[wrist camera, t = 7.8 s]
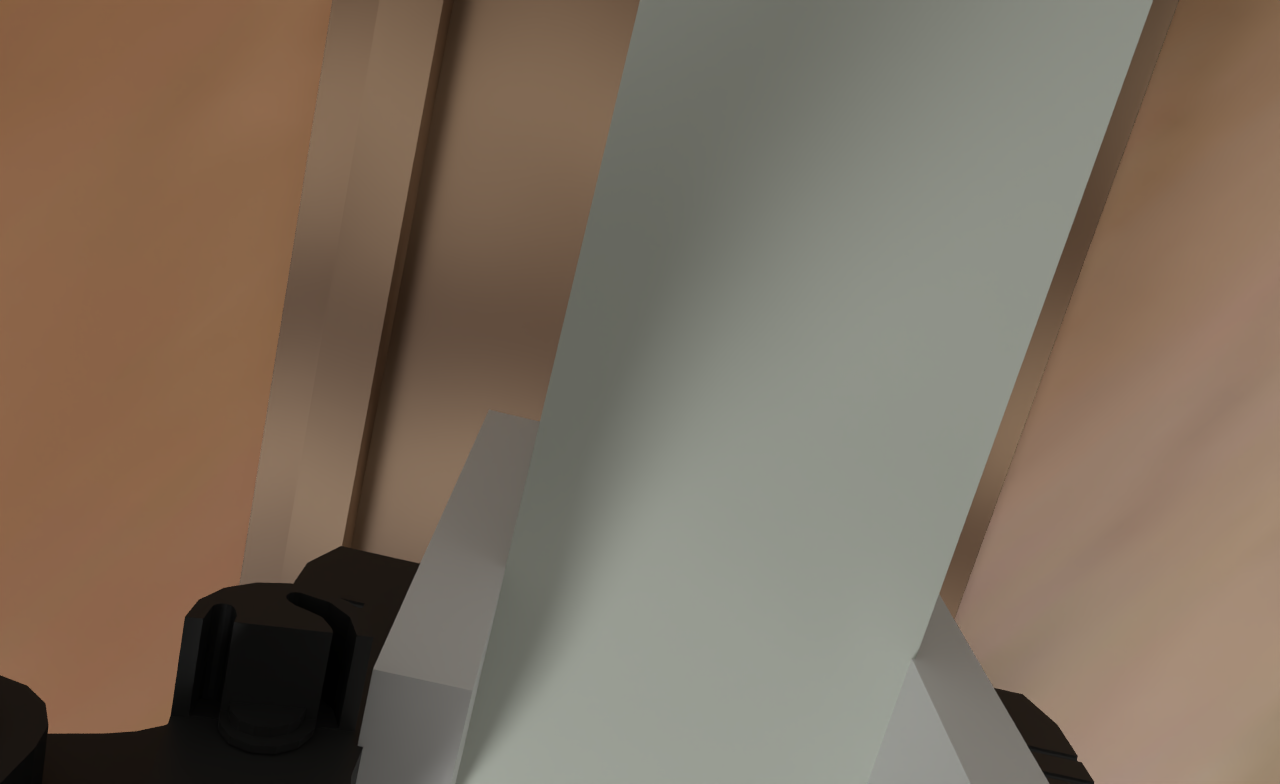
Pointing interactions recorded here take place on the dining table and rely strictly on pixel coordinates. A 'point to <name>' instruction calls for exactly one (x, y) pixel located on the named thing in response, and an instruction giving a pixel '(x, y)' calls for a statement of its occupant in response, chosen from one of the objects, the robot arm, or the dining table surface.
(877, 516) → the greenware bar
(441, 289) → the cradle rack
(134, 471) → the dining table surface
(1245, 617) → the dining table surface
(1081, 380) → the dining table surface
